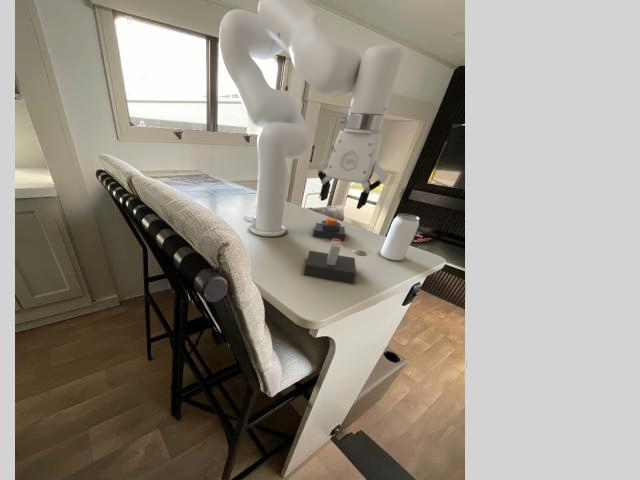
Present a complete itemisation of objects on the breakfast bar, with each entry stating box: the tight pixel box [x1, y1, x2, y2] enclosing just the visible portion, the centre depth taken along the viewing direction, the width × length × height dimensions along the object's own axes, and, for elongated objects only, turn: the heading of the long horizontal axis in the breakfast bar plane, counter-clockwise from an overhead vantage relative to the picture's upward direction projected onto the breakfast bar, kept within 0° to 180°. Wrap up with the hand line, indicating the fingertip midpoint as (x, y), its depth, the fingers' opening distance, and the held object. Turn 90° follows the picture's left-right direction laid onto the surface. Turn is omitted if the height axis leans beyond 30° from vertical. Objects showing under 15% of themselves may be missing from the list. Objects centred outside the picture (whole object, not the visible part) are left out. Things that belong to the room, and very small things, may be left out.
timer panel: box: [303, 250, 357, 285], centre depth 66 cm, size 12×9×3 cm
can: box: [380, 213, 421, 262], centre depth 72 cm, size 6×6×12 cm
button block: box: [312, 219, 346, 242], centre depth 88 cm, size 10×8×4 cm
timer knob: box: [327, 238, 341, 266], centre depth 64 cm, size 5×2×5 cm, turn 162°
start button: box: [325, 217, 338, 226], centre depth 86 cm, size 4×4×2 cm
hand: (340, 203), depth 66 cm, fingers open, 9 cm apart
